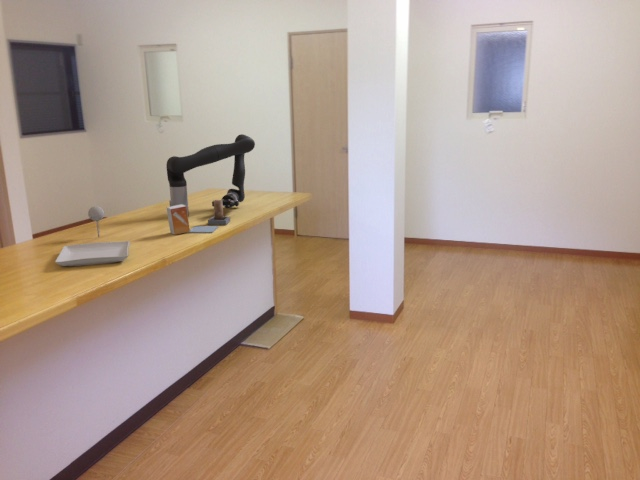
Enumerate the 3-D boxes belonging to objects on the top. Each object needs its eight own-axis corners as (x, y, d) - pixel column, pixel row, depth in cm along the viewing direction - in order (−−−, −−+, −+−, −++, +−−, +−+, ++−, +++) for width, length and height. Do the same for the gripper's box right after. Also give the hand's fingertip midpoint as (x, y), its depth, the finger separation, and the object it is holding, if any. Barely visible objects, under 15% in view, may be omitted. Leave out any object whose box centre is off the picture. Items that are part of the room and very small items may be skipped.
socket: (208, 225, 291) (207, 220, 290) (212, 221, 300) (212, 216, 299) (226, 225, 290) (225, 220, 289) (230, 221, 299) (229, 216, 299)
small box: (174, 235, 270) (170, 209, 266) (170, 232, 275) (165, 207, 271) (190, 231, 274) (186, 205, 270) (186, 229, 279) (181, 203, 275)
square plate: (129, 264, 225) (128, 255, 224) (55, 271, 218) (53, 261, 217) (131, 247, 250) (130, 239, 249) (64, 253, 243) (63, 244, 242)
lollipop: (110, 235, 271) (106, 205, 267) (99, 239, 264) (96, 208, 261) (97, 234, 273) (94, 204, 269) (87, 238, 267) (83, 207, 263)
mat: (188, 232, 274) (188, 231, 274) (195, 227, 286) (195, 226, 286) (212, 233, 274) (212, 231, 273) (218, 227, 285) (218, 226, 285)
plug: (213, 224, 293) (212, 201, 290) (216, 222, 297) (214, 199, 294) (222, 224, 293) (221, 201, 290) (224, 222, 297) (223, 199, 294)
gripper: (216, 193, 317) (209, 198, 302) (241, 193, 316) (235, 198, 301) (217, 206, 319) (210, 212, 303) (242, 206, 318) (236, 212, 302)
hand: (222, 205), depth 302 cm, fingers open, 8 cm apart
